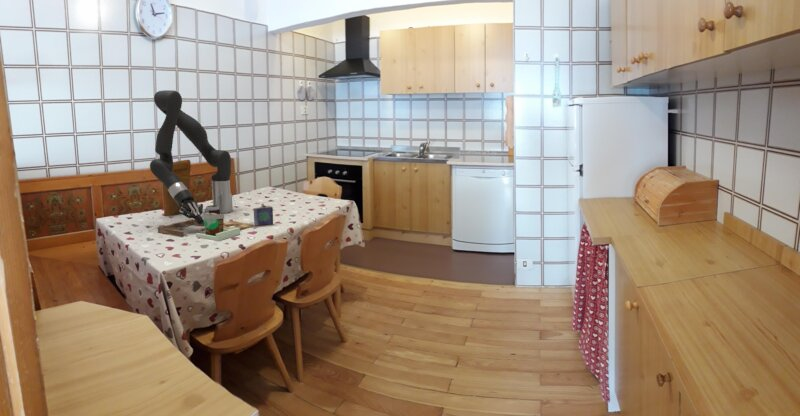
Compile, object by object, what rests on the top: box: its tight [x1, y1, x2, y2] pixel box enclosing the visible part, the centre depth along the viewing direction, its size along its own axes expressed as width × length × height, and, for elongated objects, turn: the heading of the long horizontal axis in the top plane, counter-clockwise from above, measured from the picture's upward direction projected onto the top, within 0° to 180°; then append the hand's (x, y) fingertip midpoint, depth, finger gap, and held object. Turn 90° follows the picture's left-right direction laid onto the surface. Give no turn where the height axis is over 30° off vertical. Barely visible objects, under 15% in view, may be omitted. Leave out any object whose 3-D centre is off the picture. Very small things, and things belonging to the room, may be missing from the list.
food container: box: [201, 210, 225, 236], centre depth 231 cm, size 12×6×10 cm, turn 54°
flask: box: [253, 202, 274, 227], centre depth 250 cm, size 9×3×11 cm, turn 120°
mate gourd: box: [204, 192, 223, 214], centre depth 254 cm, size 8×8×15 cm
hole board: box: [223, 220, 255, 231], centre depth 245 cm, size 14×14×1 cm
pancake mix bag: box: [161, 159, 192, 217], centre depth 270 cm, size 7×19×28 cm, turn 151°
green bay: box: [195, 228, 241, 242], centre depth 230 cm, size 13×13×3 cm
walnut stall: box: [157, 218, 205, 238], centre depth 239 cm, size 19×15×2 cm
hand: (201, 223), depth 234 cm, fingers closed
